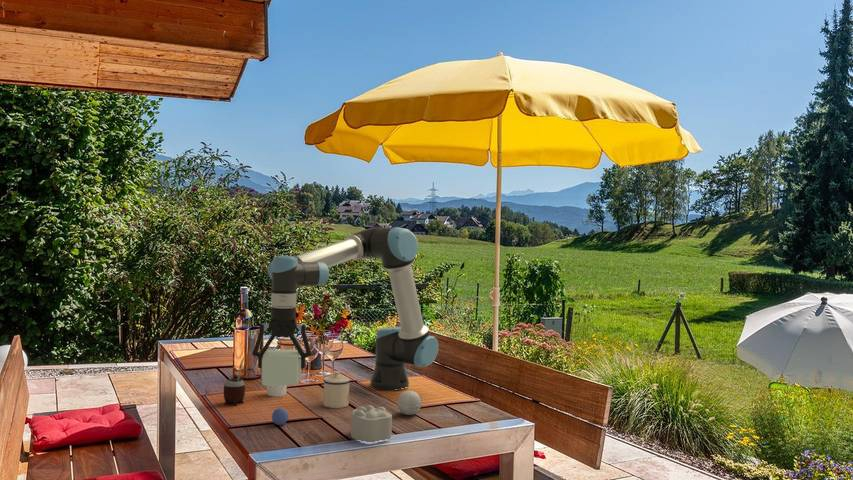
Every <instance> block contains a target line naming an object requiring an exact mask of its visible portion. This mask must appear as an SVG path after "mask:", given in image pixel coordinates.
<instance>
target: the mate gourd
mask: <svg viewBox="0 0 853 480" xmlns="http://www.w3.org/2000/svg"><path fill="white" fill-rule="evenodd" d="M241 359H242V360H241V361H240V364H239V368H238V374H237V378H230V379H229V378H228V379H227V380H226V381H225V383H224V386H223V399H224V405H225V404H227V405H233V406H234V407H236V406H237V405H238V404H237V403H239V404H244V398H245V396H246V395H245V393H246V385H245V384H246V383H245V382H244V380H243V379H241V378H240V376H241V370H242V367H243V363H244V361H245V359H246V357H245V356H243V358H241Z"/></svg>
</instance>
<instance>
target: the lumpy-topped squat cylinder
mask: <svg viewBox="0 0 853 480" xmlns="http://www.w3.org/2000/svg"><path fill="white" fill-rule="evenodd" d="M351 412H352V413H351V431H350V432H351V433H350V434H351V435H350V437H352V438H355V439H357V440H361V441H366V442H375V441H379V440H385V439H390V438H391V439H392V433H393V432H392V431H393V429H392V428H393V427H392V426H393V415H392V413H390V412H388V411H387V410H386V408H385V407H384V406H378V407H374V406H373V405H372V404H368V405H365V406H362V405H360V406H359V407H357V408H355V409H353V410H352V411H351ZM352 438H351V439H352Z"/></svg>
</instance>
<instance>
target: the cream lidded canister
mask: <svg viewBox="0 0 853 480" xmlns="http://www.w3.org/2000/svg"><path fill="white" fill-rule="evenodd" d="M350 382H351V380H350V378H349V377H347V376H346V375H345V376H344V375H343V374H341V372H340V371H337V370H336V371H334V372H333V374H331V375H329V376H326V377H324V379H323V406H324V407H326V408H329V409H341V408H347V407H348V406H349V403H350V400H349V398H350Z"/></svg>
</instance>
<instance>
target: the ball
mask: <svg viewBox="0 0 853 480" xmlns="http://www.w3.org/2000/svg"><path fill="white" fill-rule="evenodd" d="M271 419H272V422H273V423H274V425H277V426H283V425H285V424H286V423H287V421H288V420H289V413H288V411H287V410H286V409H285V408H280V407H279V408H277V409H275V410H274V411H273V412H272V414H271Z"/></svg>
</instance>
